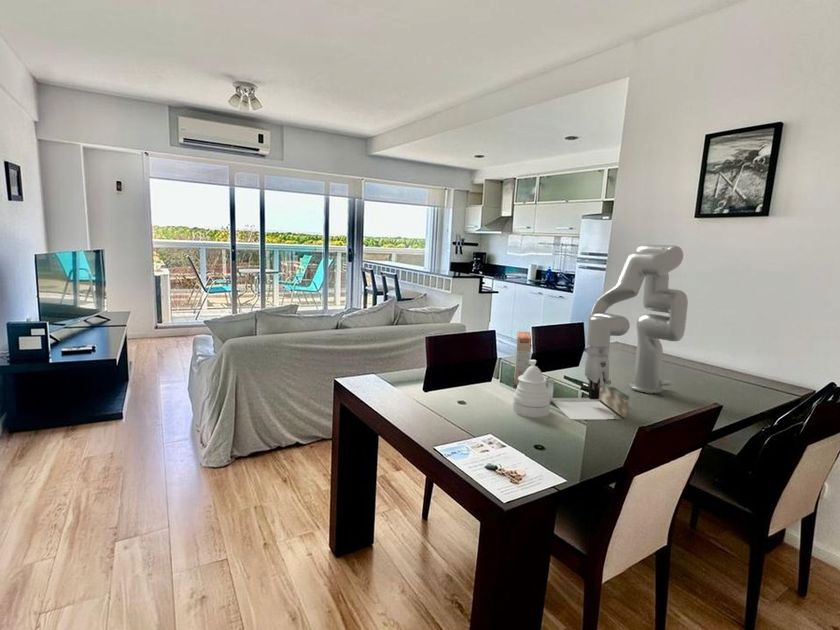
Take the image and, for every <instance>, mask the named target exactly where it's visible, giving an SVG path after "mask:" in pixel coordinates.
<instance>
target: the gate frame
mask: <svg viewBox="0 0 840 630" xmlns="http://www.w3.org/2000/svg"><path fill="white" fill-rule="evenodd" d="M546 380H547V382H546V387H547V388H548V393H549V396H550V403H553V402H601V403H603V402H602V401H601V400H600V399H590V398H589V397H553V396H554V385H555V384H554V383H555V380H554V379H553V378H552V377H551V378H546ZM608 383H609V384H610V385H612V380H611V379H610V378H609V379H608Z"/></svg>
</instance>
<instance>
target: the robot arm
mask: <svg viewBox="0 0 840 630" xmlns="http://www.w3.org/2000/svg"><path fill="white" fill-rule="evenodd" d="M683 259H684V251H683V249H682V248H681V247H680V246H678V245H673V244H669V245H668V244H667V245H666V244H643V245H639V246H638V247H637V248H636V249H635V252H633V253H631V254H629V255H628V256H627V257H626V259H625V260H624V264H623V266H622V268H621V270H620V273H619V275H618V277H617V280H616V282H615V285H614V286H613V287H612V288H611V289H609V290H608V291H607V292H605V293H604V294H603V295H601V296H600V297H599V298H598V299H597V300H596V301H595V302H594V305H593V307H592V309H591V311H590V314H589V317H588V320H587V322H588V329H587V341H586V342H587V343H586V357H585V358H586V359H585V365H584V375H585V377H586V379H587V380H588V387H589V389H588V398H590V399H599V390H600V388H601V387H603V382H605V383H608V379H610V378H609V377H610V359H609V354H610V353H609V352H610V343H611V337H618V336H619V337H621V336H624V335H625V334H627V333H628V332H629V329H630V321H629V320H628V318H627V317H625V316H623V315H619V314H613V313H609V312H608V313H606V312H607V310H608V309H609V308H610V307H612V306H613V305H615V304H617V303H620V302H624V301H626V300H629V299H633V298H635V297H636V296H638V294H639V293H640V289H641V287H642V285H643V282H644V286H643V287H644V288H643V299H642V301H643V302H642V303H643V308H644V309H646V310H647V311H651V312H656V313H657V312H658V313H665V314H669V315H668V316H667V315H663V314H662V315H661V314H654V313H645V314H642V315H640V316H639V317H638V318H637V320H636V335H637V345H636V353H635V365H634V374H633V375H634V376H633V381H632V382H630V383H629V385H628V387H629V386H630V387H631V388H632V389H631V388H630V387H629V388H630V389H631V390H633V389H635V390H637V391H636V392H639V391H641V392H640V393H643V392H645V394H653V393H655V394H660V393H662V392H663V390H664V389H663V387H664V386H665V387H667V386H668V387H670V386H671V385H672V384H671V381H670V380H664V379H661V377H660V376H661V368H662V359H663V344H662V343H661V340H662V341H663V340H664V341H667V342H679V341H681V340H682V339H683V337H684V335H685V330H686V323H687V315H688V305H689V301H688V296H687V294H686V293H685V292H684V291H683V290H679V289H673V288H669V284H670V283H669V282H670V281H669V280H670V275H669V273H670V272H672V271H673V270H675V269H677V268H678V267H679V266H680V265H681V264H682V262H683ZM635 390H634V391H635Z"/></svg>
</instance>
